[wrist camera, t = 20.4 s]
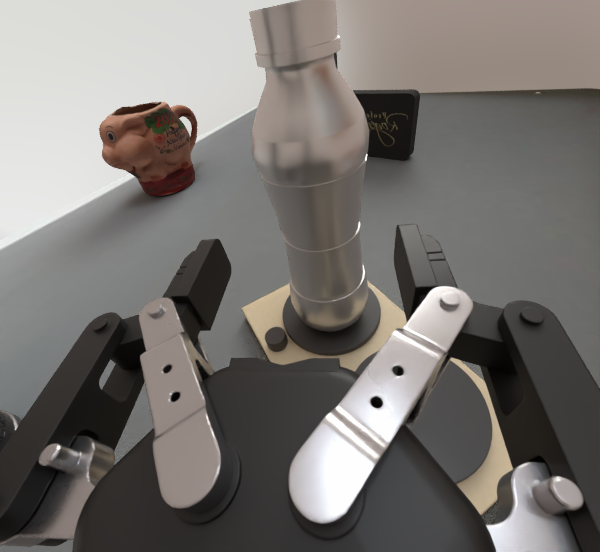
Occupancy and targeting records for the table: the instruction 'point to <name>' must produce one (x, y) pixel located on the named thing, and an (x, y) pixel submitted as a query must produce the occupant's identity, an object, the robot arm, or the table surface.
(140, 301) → the table surface
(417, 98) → the nameplate
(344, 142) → the silver bottle
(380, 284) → the table surface
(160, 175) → the animal head mug
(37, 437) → the robot arm
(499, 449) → the hob
